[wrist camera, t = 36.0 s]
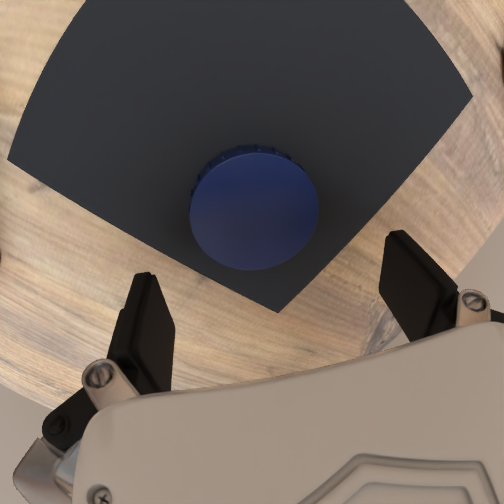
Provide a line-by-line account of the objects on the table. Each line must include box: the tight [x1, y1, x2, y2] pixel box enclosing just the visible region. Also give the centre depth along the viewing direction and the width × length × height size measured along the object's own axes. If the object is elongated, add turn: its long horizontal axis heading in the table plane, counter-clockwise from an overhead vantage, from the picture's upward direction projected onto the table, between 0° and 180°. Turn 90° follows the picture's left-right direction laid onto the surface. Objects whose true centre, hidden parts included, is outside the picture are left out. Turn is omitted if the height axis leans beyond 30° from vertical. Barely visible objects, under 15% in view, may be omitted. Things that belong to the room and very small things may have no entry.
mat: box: [7, 0, 473, 313], centre depth 13 cm, size 20×20×1 cm
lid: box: [188, 144, 319, 270], centre depth 15 cm, size 6×6×2 cm
